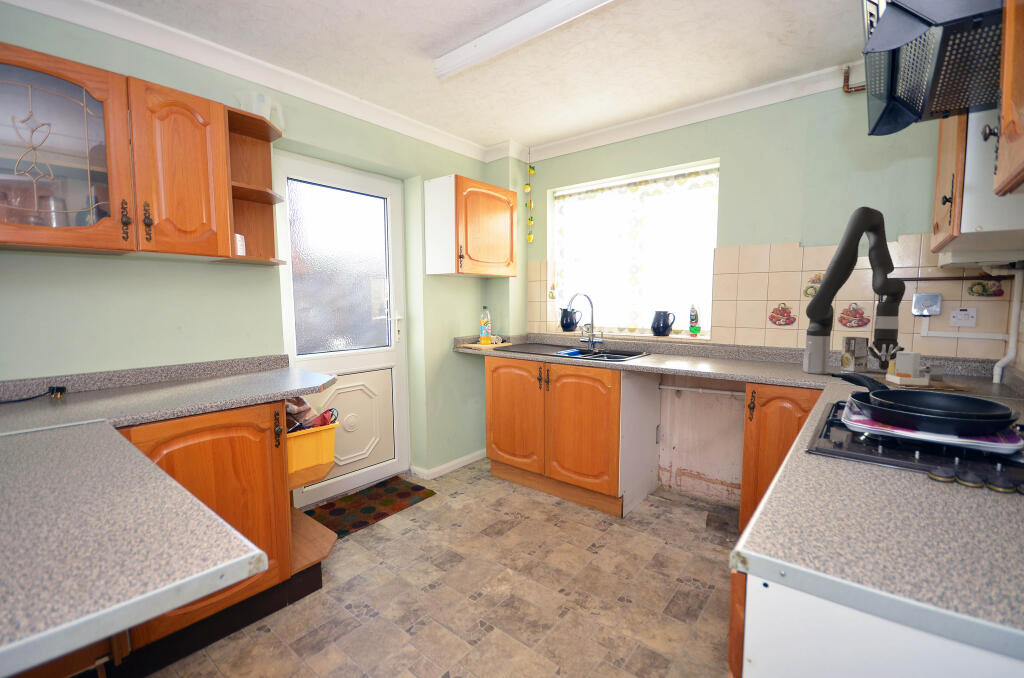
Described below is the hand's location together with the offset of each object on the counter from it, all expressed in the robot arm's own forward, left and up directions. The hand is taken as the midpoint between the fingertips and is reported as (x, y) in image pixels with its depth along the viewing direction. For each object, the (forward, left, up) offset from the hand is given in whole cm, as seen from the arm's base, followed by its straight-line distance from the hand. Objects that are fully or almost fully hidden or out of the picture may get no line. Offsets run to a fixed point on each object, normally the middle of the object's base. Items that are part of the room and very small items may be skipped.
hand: (883, 369), depth 184 cm
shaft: (+10, 0, -3) cm, 10 cm away
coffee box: (+3, +32, -5) cm, 33 cm away
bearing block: (+17, 0, -4) cm, 17 cm away
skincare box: (+3, -10, -4) cm, 11 cm away
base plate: (+9, -6, -5) cm, 12 cm away
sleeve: (+3, -10, -4) cm, 11 cm away
